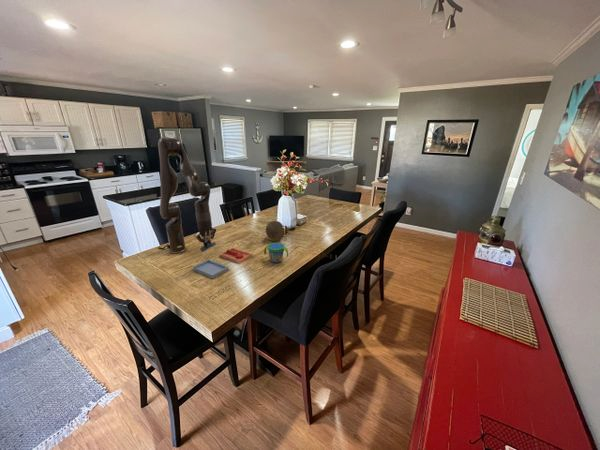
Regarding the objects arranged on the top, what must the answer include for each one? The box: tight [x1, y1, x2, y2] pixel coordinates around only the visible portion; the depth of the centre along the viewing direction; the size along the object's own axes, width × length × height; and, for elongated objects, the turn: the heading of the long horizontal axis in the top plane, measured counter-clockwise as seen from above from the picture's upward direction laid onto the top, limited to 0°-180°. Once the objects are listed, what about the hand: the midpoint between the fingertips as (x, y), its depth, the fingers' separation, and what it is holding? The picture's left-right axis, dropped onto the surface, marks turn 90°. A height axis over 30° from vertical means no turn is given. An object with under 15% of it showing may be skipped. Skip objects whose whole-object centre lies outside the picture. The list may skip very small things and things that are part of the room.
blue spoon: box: [199, 241, 217, 253], centre depth 137 cm, size 13×5×3 cm
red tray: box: [219, 247, 253, 264], centre depth 156 cm, size 17×11×2 cm, turn 58°
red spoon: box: [226, 248, 243, 259], centre depth 156 cm, size 13×5×3 cm, turn 58°
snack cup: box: [263, 242, 289, 264], centre depth 150 cm, size 16×10×10 cm
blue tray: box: [192, 259, 229, 279], centre depth 140 cm, size 17×11×2 cm, turn 58°
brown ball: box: [265, 220, 285, 242], centre depth 179 cm, size 14×14×15 cm
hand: (207, 247), depth 137 cm, fingers closed on blue spoon, 1 cm apart
